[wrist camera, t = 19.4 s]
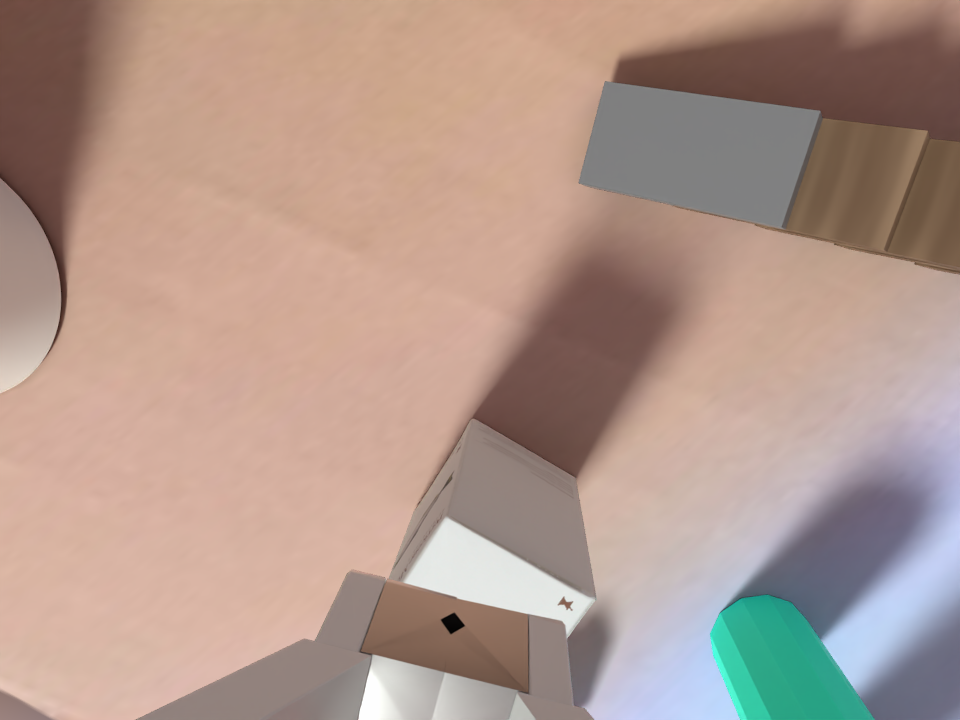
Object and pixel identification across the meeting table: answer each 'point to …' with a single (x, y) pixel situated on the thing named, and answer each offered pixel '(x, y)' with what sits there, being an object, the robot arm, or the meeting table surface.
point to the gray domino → (701, 151)
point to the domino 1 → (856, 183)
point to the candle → (780, 665)
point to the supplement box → (501, 532)
